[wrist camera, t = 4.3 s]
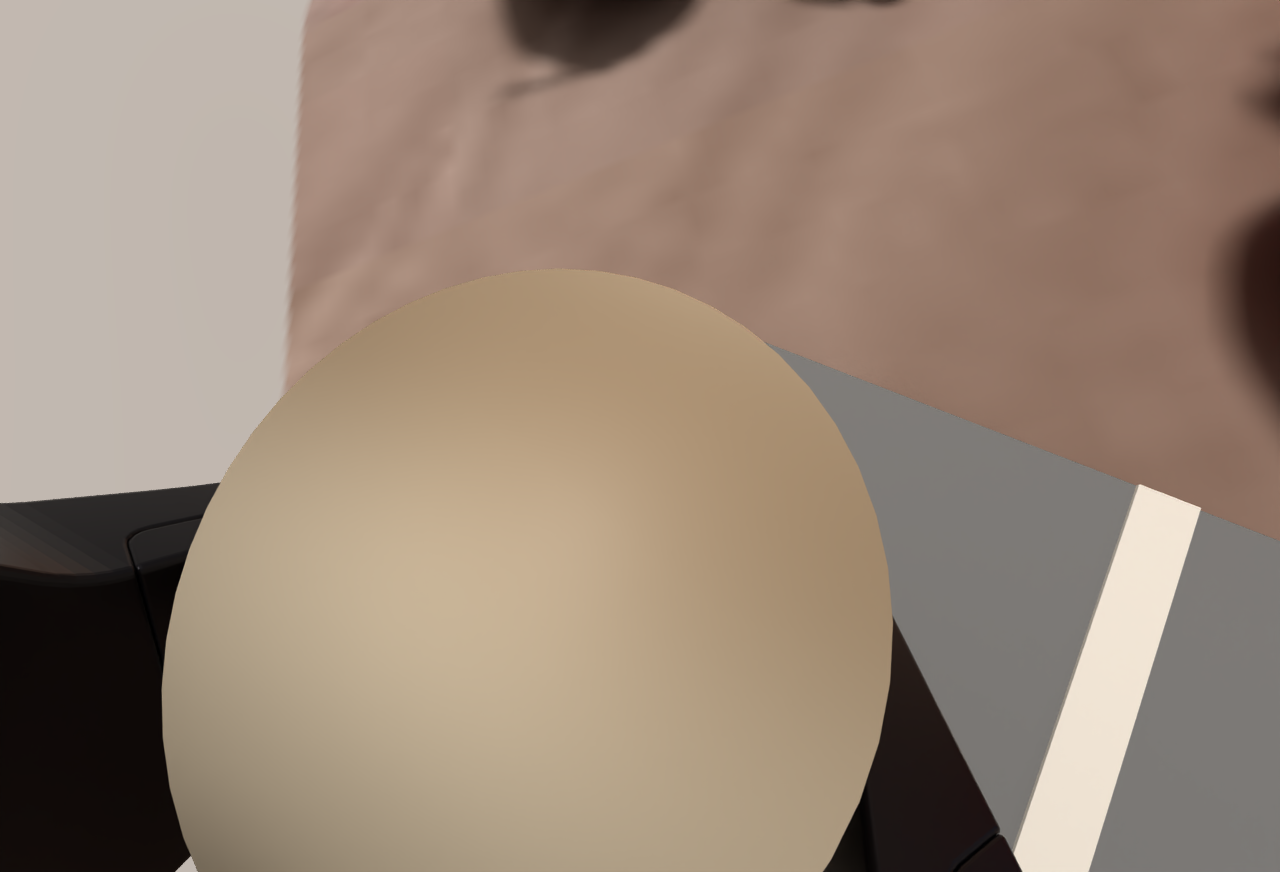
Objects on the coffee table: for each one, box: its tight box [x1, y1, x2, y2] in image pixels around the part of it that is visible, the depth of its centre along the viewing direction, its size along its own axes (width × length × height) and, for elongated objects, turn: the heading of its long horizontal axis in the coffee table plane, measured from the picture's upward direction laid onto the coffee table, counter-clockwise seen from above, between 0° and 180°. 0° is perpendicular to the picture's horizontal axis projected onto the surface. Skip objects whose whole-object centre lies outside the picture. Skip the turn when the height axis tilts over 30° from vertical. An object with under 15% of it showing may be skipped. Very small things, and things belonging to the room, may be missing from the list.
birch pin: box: [162, 269, 893, 872], centre depth 9 cm, size 5×5×11 cm
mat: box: [764, 342, 1280, 872], centre depth 12 cm, size 14×24×1 cm, turn 60°
